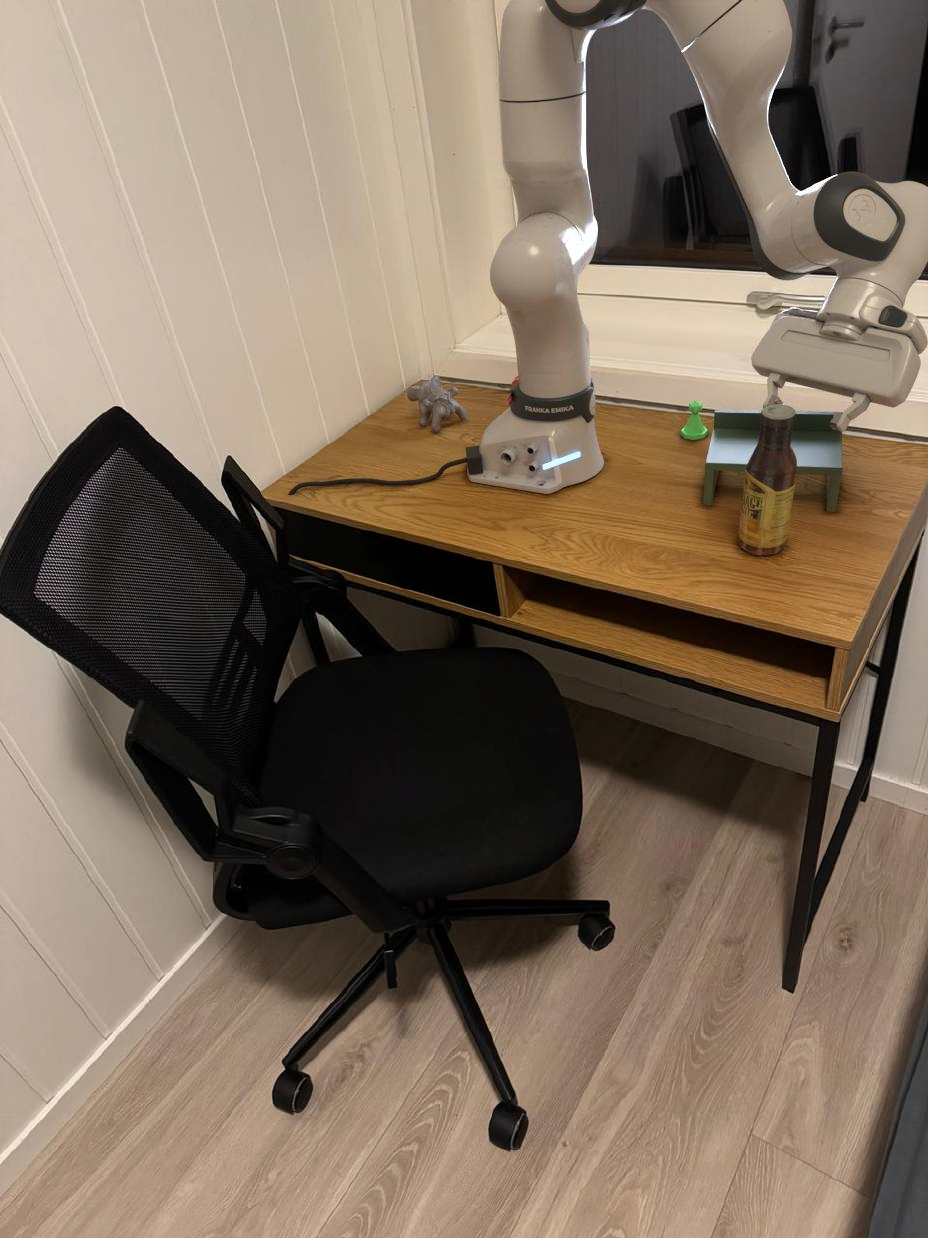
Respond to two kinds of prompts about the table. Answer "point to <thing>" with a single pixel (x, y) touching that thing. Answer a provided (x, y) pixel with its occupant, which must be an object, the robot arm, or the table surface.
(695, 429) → the game piece
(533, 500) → the table surface
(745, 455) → the shelf
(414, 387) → the gray elephant figurine
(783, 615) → the table surface
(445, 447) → the table surface
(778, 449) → the sauce bottle
